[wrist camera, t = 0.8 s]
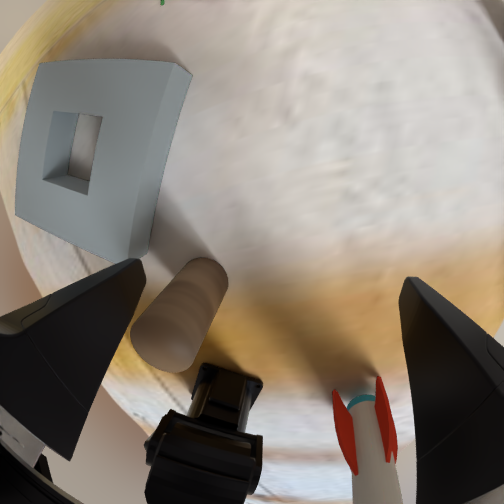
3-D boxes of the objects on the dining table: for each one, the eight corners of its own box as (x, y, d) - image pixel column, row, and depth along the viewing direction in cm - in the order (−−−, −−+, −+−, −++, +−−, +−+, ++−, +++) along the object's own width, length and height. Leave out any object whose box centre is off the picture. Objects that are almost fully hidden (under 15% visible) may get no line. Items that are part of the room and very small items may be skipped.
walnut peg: (221, 307, 24) (188, 381, 15) (178, 291, 24) (129, 355, 15) (234, 267, 22) (200, 334, 14) (187, 250, 22) (132, 305, 14)
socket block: (147, 253, 23) (126, 268, 20) (37, 207, 23) (14, 215, 20) (192, 75, 17) (174, 62, 14) (63, 68, 18) (39, 63, 15)
